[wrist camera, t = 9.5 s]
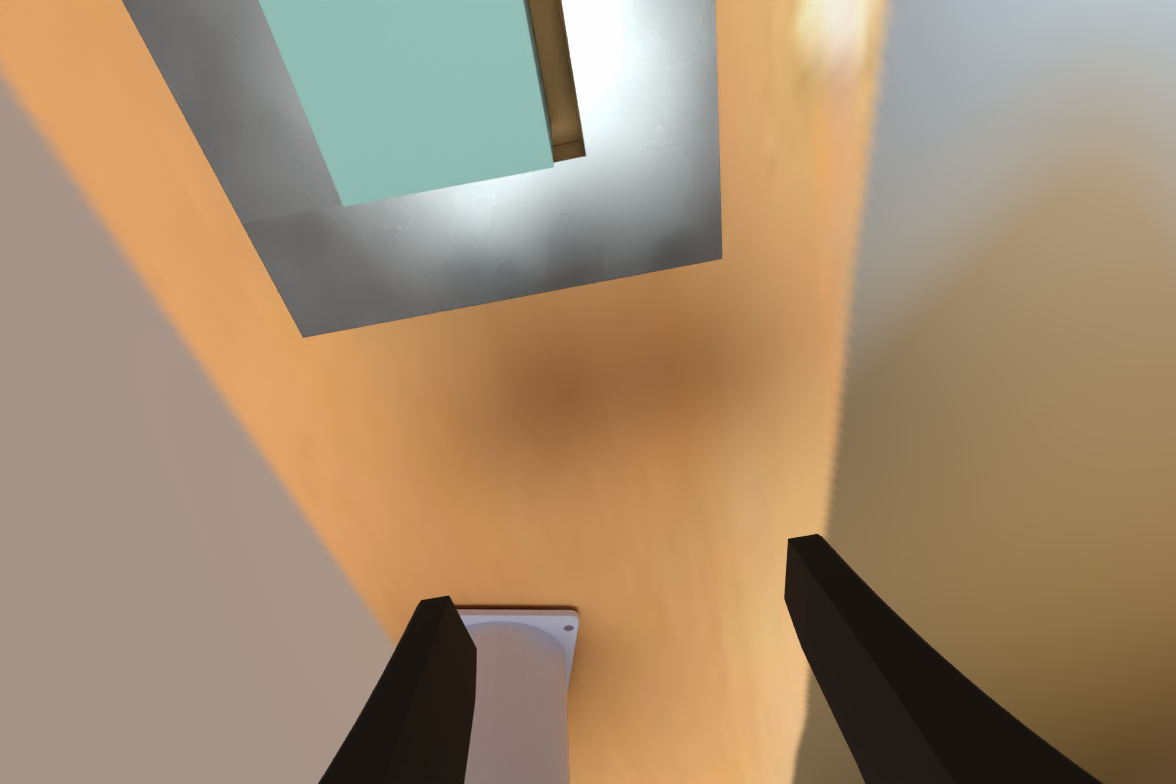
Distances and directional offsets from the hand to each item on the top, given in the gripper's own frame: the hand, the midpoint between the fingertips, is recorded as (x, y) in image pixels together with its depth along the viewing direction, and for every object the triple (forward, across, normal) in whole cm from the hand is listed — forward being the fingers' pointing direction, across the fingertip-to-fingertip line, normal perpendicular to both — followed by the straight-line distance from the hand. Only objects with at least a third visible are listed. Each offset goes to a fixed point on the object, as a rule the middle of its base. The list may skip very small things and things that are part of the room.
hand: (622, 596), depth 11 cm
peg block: (+10, +2, -10) cm, 14 cm away
